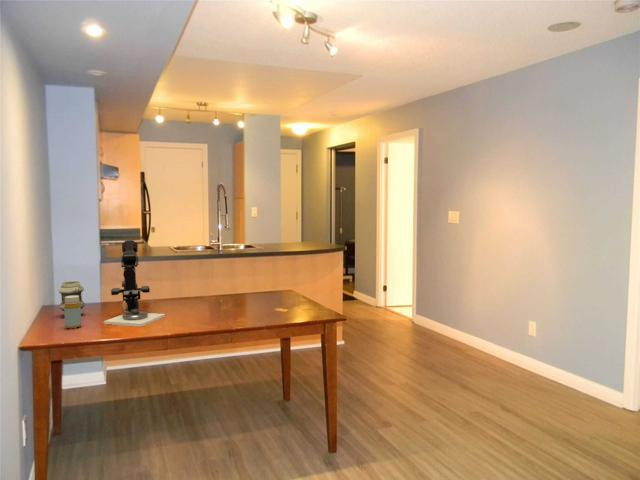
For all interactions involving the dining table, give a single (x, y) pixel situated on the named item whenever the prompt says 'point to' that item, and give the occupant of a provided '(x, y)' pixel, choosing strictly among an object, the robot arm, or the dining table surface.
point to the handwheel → (132, 312)
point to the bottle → (72, 311)
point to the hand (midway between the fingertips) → (131, 306)
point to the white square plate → (136, 322)
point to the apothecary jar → (71, 292)
